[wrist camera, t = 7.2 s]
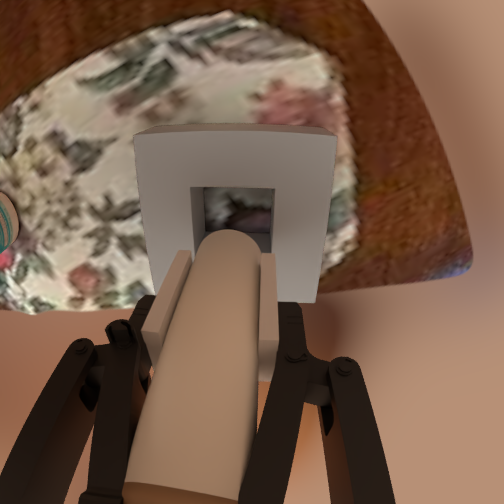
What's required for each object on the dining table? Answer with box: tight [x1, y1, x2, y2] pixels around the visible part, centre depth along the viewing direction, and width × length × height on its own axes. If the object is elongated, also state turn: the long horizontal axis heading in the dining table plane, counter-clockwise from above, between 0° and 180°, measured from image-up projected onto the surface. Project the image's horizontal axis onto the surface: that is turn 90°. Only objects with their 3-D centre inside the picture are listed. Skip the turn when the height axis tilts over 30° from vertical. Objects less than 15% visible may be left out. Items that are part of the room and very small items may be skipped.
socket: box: [133, 123, 337, 303], centre depth 24 cm, size 14×14×5 cm
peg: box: [122, 229, 261, 504], centre depth 12 cm, size 4×4×15 cm
